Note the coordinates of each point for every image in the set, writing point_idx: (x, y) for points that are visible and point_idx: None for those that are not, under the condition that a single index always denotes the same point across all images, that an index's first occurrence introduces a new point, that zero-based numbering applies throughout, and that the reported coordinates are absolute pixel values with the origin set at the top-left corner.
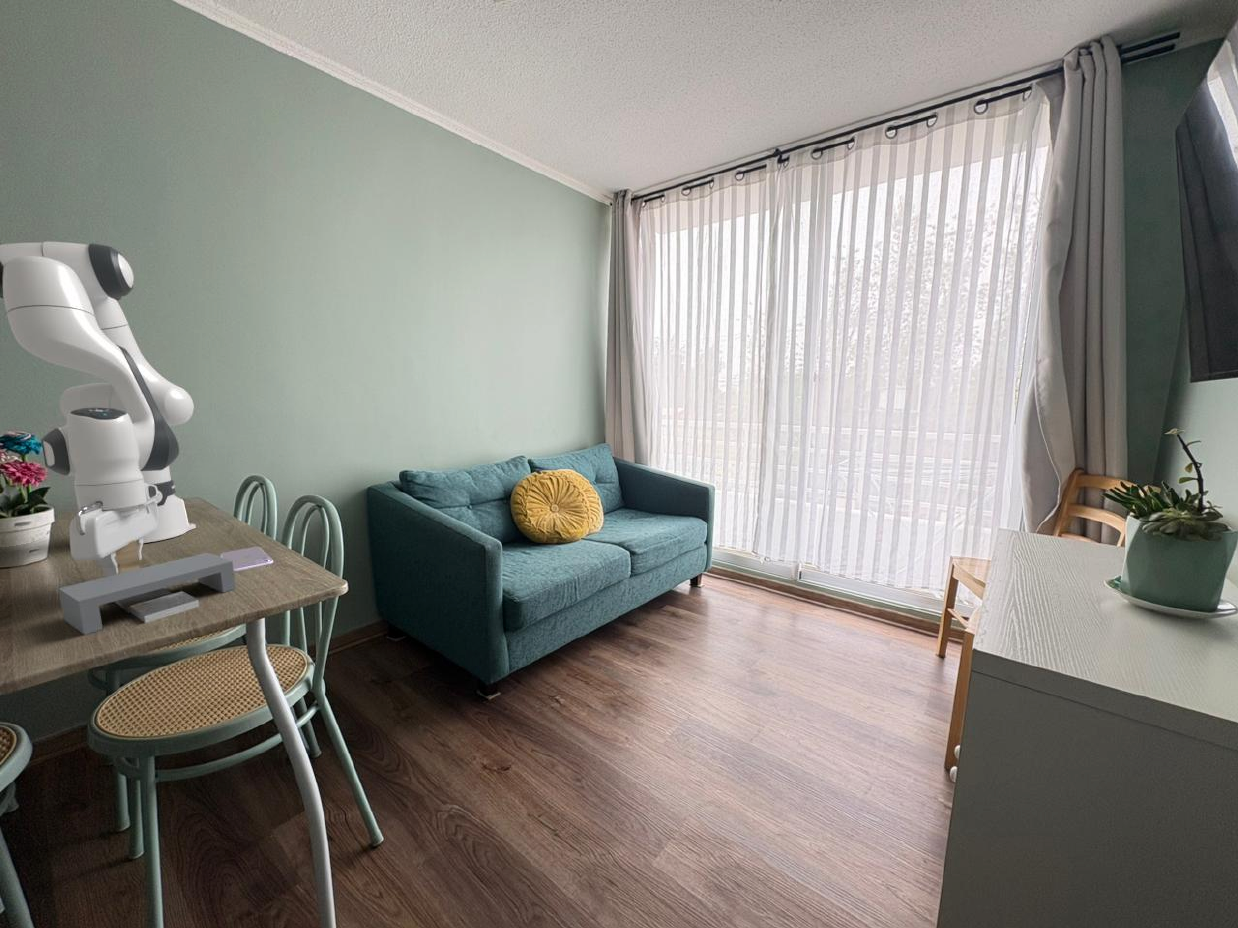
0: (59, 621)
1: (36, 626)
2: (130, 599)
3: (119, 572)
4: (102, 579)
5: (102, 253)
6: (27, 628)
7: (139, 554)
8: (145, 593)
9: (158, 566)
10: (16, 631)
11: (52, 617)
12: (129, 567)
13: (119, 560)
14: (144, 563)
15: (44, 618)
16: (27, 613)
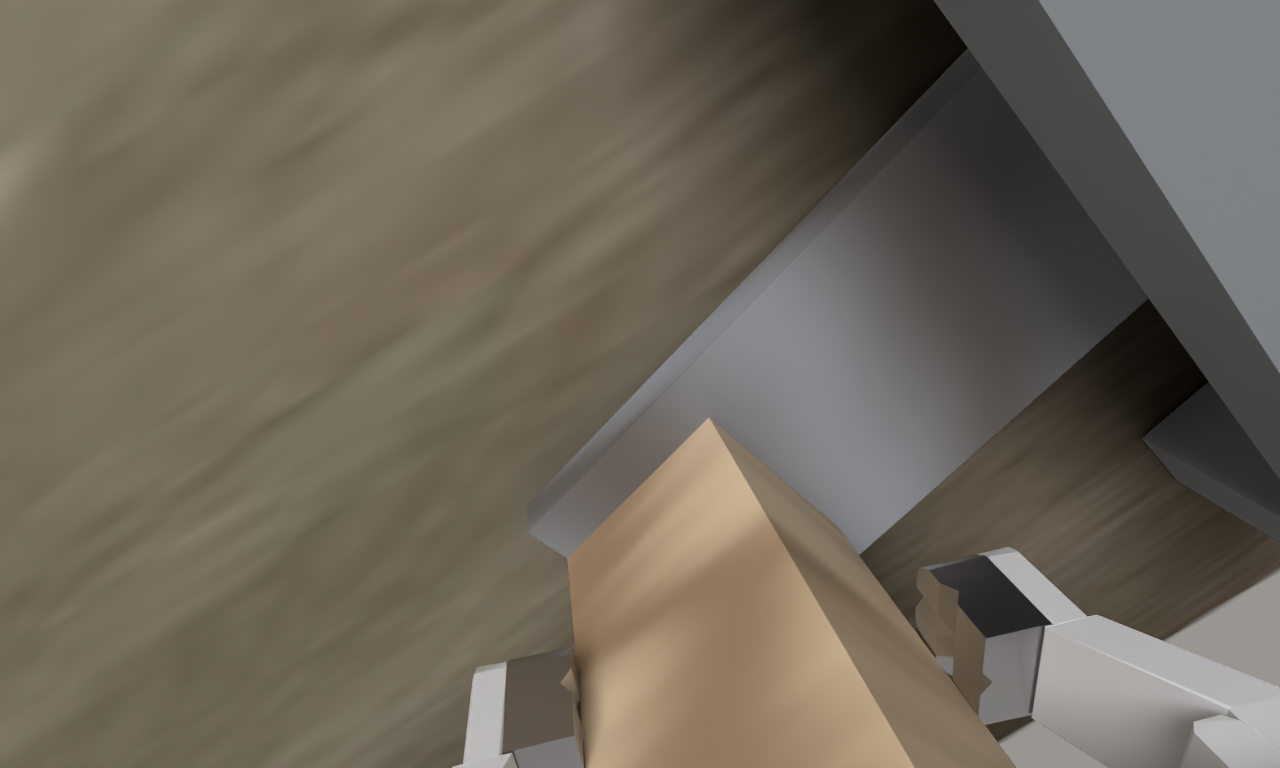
0: (1187, 488)
1: (1201, 550)
2: None
3: (936, 564)
4: None
5: None
6: (1207, 571)
7: (513, 721)
8: (1058, 175)
9: (1273, 61)
10: (1223, 590)
11: (1091, 570)
12: (828, 567)
13: (940, 694)
14: None
15: (1086, 598)
16: None
